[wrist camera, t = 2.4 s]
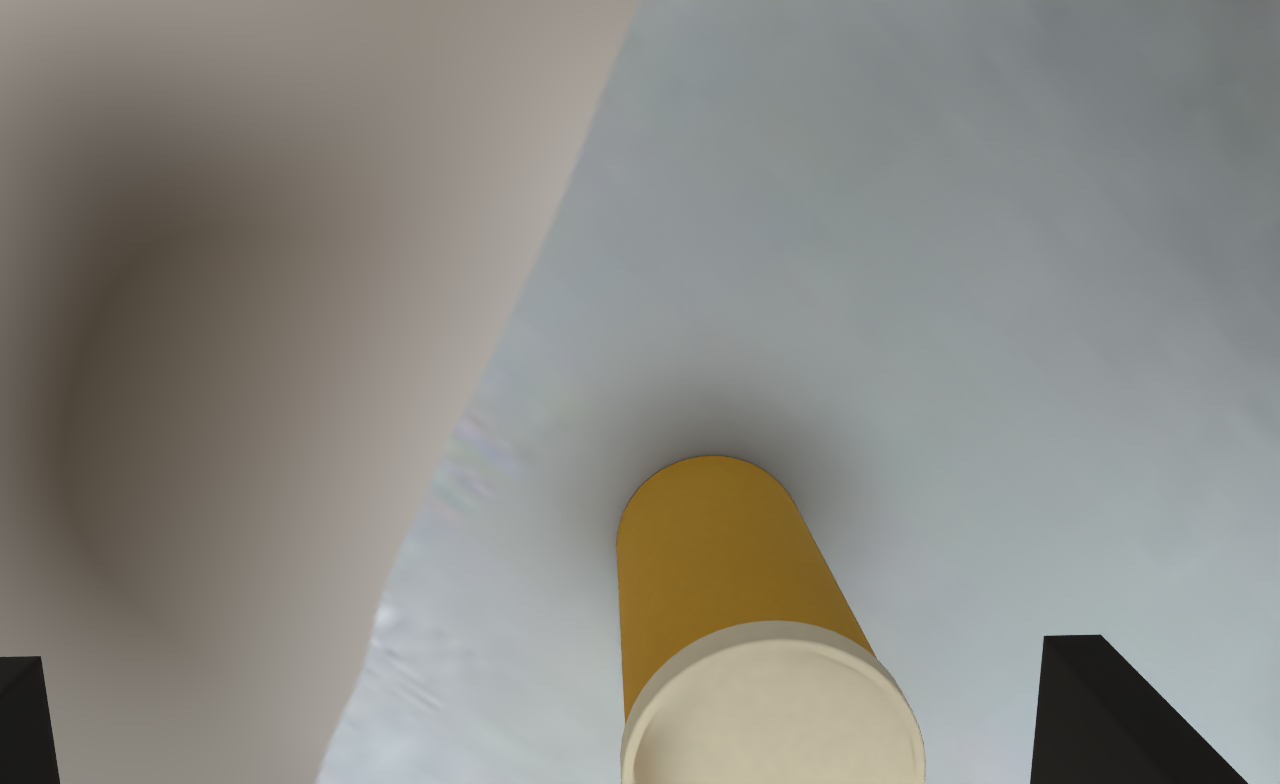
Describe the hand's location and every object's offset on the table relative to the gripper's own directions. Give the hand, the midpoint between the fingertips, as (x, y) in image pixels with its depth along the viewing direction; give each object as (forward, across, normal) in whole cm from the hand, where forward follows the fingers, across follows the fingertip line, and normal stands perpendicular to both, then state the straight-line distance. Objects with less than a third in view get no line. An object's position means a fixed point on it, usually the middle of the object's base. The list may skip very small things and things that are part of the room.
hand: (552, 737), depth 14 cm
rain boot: (+22, +5, -11) cm, 26 cm away
